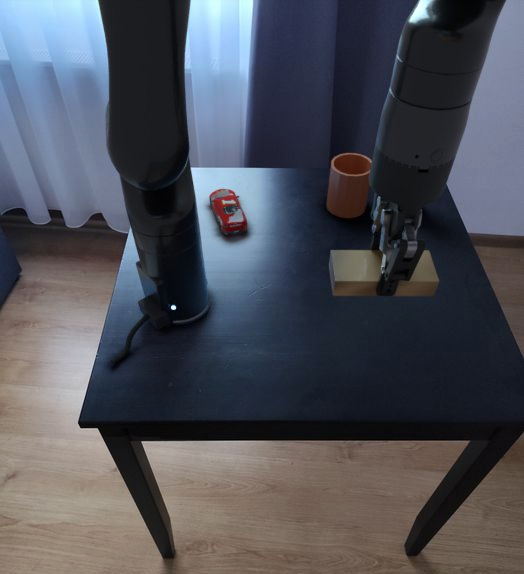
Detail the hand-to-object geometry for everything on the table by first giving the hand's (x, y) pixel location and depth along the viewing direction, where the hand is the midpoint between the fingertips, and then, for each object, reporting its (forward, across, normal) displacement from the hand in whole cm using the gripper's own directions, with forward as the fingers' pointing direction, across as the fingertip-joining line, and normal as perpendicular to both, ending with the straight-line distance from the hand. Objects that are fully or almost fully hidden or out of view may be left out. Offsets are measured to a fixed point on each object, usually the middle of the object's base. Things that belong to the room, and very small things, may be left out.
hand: (380, 275), depth 58 cm
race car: (+17, -35, -21) cm, 44 cm away
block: (+1, 0, 0) cm, 1 cm away
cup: (+17, -38, +2) cm, 42 cm away
